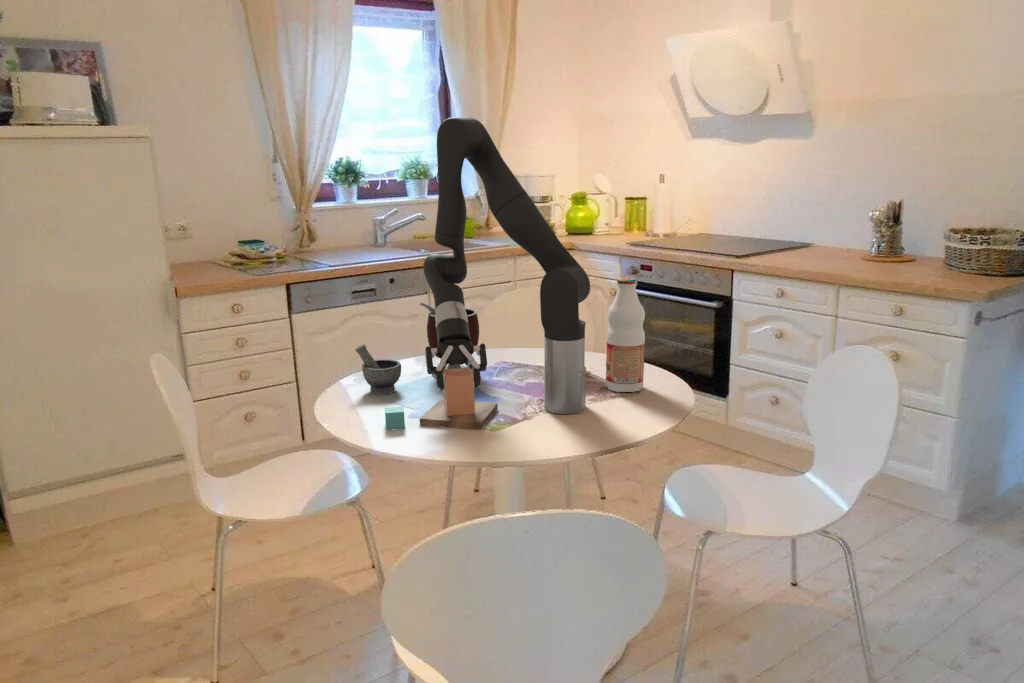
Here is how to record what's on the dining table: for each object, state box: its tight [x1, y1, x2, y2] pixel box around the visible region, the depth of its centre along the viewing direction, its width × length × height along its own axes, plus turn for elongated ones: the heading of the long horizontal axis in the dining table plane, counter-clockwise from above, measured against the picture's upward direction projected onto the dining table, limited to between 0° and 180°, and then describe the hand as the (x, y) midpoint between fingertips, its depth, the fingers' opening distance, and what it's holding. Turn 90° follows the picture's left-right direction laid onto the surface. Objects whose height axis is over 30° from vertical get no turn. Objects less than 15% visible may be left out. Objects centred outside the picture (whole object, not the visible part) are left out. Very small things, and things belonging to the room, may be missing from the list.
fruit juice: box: [605, 276, 646, 393], centre depth 192 cm, size 9×9×28 cm
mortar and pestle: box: [355, 344, 402, 395], centre depth 194 cm, size 11×9×12 cm
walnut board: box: [419, 398, 498, 431], centre depth 175 cm, size 14×14×2 cm
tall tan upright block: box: [442, 368, 476, 416], centre depth 174 cm, size 6×6×9 cm
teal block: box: [384, 405, 406, 431], centre depth 169 cm, size 4×4×4 cm
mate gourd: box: [419, 301, 480, 379], centre depth 207 cm, size 16×14×20 cm
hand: (459, 387), depth 172 cm, fingers open, 7 cm apart
